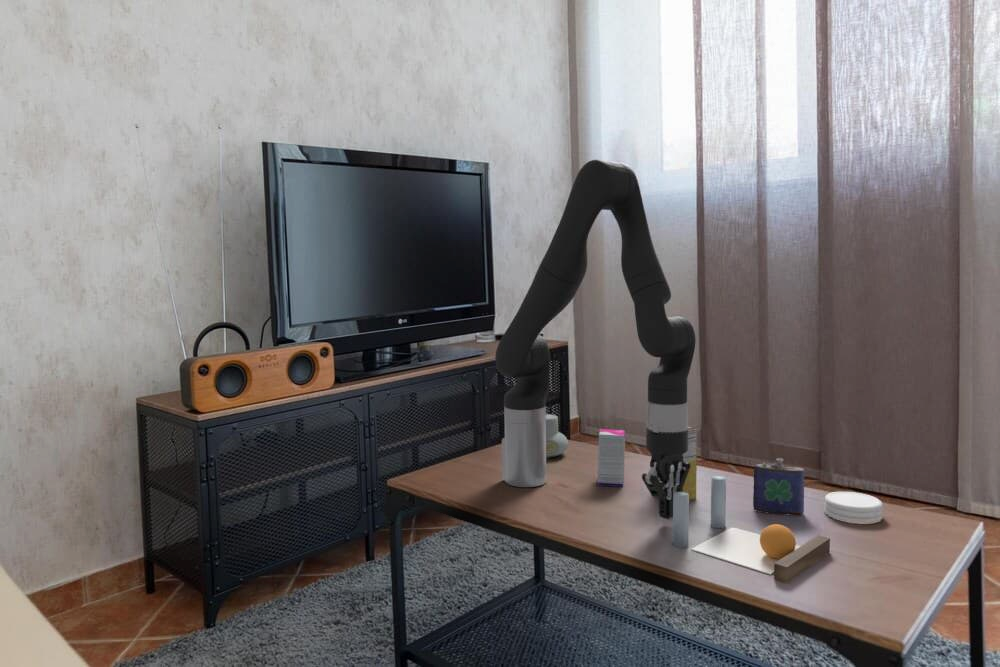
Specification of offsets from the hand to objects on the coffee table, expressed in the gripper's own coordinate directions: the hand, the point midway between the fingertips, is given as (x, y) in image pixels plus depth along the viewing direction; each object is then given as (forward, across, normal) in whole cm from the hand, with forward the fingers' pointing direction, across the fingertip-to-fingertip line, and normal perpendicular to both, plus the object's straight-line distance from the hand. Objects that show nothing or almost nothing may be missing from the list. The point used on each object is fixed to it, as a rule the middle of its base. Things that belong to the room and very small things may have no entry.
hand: (666, 517), depth 133 cm
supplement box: (+2, -14, -24) cm, 27 cm away
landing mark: (+2, 0, +16) cm, 17 cm away
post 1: (+2, +6, +7) cm, 10 cm away
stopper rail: (+2, 0, +26) cm, 26 cm away
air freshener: (+2, -21, -50) cm, 54 cm away
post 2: (+2, -6, +7) cm, 10 cm away
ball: (-1, 0, +21) cm, 21 cm away
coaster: (+2, -29, +22) cm, 37 cm away
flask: (+2, -21, +12) cm, 24 cm away
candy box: (+2, -16, -8) cm, 18 cm away
